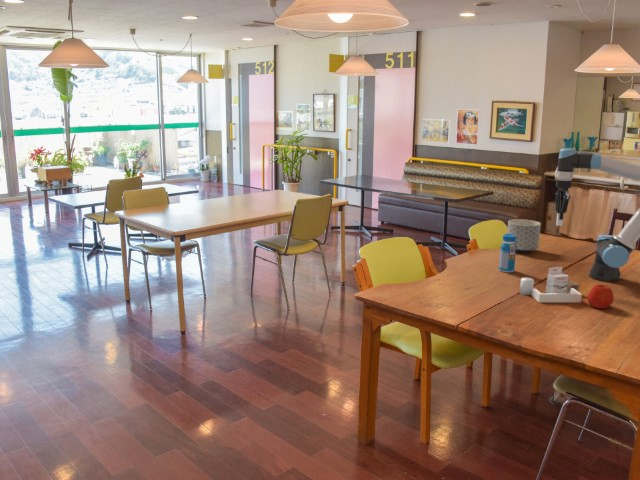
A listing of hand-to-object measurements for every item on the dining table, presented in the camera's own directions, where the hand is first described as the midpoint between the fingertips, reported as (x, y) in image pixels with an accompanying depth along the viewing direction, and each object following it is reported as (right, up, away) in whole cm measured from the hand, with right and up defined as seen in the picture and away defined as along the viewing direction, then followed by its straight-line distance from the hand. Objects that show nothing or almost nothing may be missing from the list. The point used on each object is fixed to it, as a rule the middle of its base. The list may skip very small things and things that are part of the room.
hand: (559, 225), depth 311 cm
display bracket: (-11, -35, -22) cm, 43 cm away
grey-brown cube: (0, -34, -13) cm, 36 cm away
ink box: (-10, -35, -21) cm, 42 cm away
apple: (+6, -38, -32) cm, 50 cm away
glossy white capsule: (-22, -33, -14) cm, 42 cm away
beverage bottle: (-20, -25, +23) cm, 39 cm away
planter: (+2, -14, +65) cm, 67 cm away
